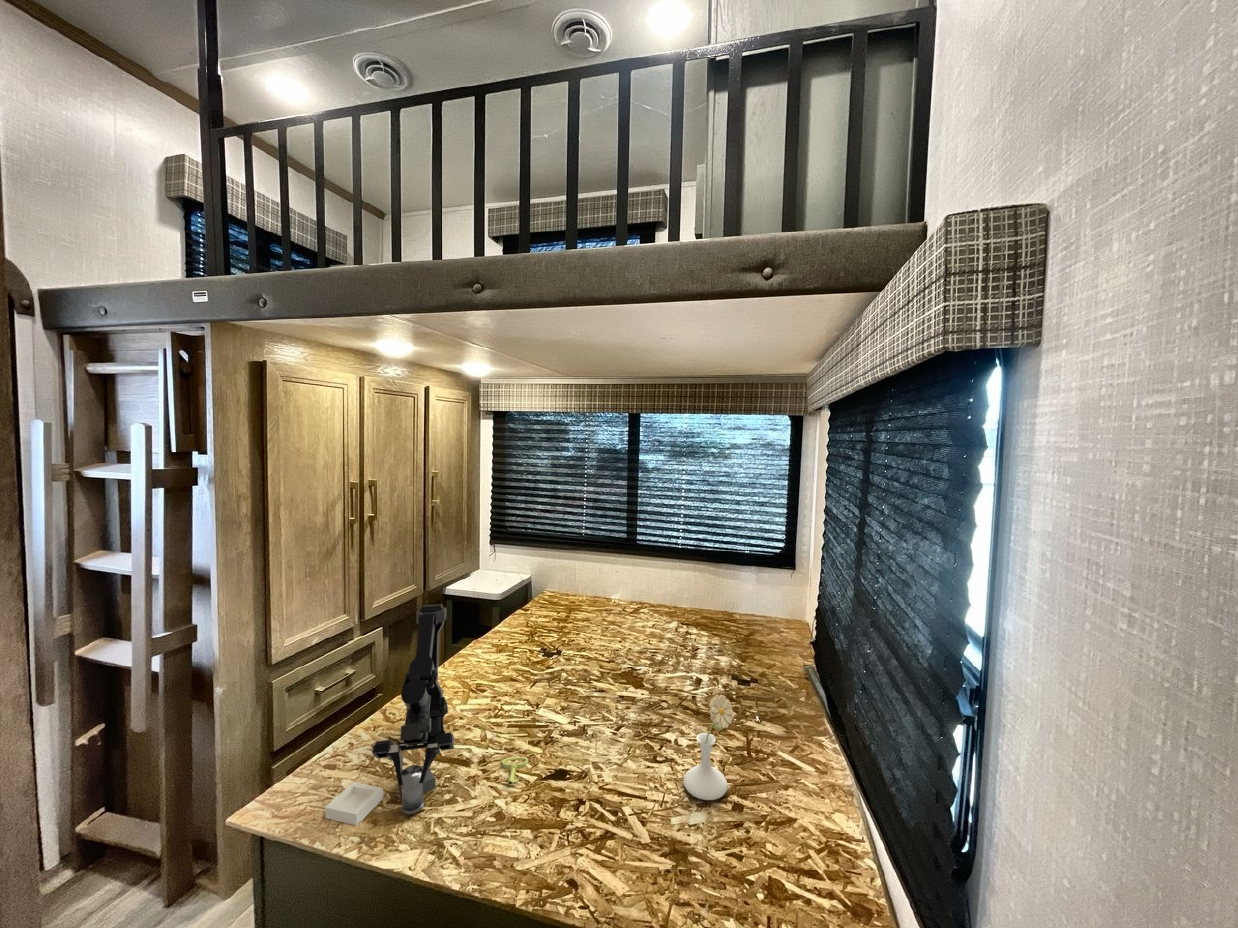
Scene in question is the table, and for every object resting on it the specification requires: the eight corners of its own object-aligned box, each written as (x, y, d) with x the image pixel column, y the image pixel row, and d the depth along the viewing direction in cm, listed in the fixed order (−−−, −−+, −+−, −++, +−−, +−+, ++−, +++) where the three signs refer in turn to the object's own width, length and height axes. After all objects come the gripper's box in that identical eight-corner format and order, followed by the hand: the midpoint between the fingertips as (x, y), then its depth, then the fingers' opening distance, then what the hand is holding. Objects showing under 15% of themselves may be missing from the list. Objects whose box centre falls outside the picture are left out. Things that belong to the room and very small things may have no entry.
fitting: (420, 795, 128) (419, 761, 127) (427, 807, 124) (426, 772, 123) (399, 804, 125) (397, 770, 124) (405, 817, 120) (403, 781, 120)
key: (508, 790, 132) (508, 782, 132) (500, 762, 143) (500, 755, 143) (535, 783, 134) (535, 775, 134) (525, 756, 146) (525, 748, 146)
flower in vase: (694, 809, 125) (695, 712, 123) (676, 778, 136) (677, 689, 134) (741, 798, 128) (743, 703, 126) (720, 769, 139) (721, 682, 137)
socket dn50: (353, 792, 131) (353, 781, 130) (383, 798, 128) (382, 788, 128) (325, 818, 122) (325, 807, 122) (356, 825, 120) (356, 814, 119)
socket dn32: (427, 773, 137) (426, 764, 137) (435, 788, 132) (435, 778, 132) (400, 785, 133) (399, 775, 133) (407, 800, 128) (407, 789, 127)
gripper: (372, 711, 124) (361, 784, 114) (451, 702, 128) (448, 772, 118) (381, 723, 132) (372, 792, 123) (455, 714, 136) (452, 781, 127)
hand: (411, 784), depth 122 cm, fingers closed on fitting, 5 cm apart
